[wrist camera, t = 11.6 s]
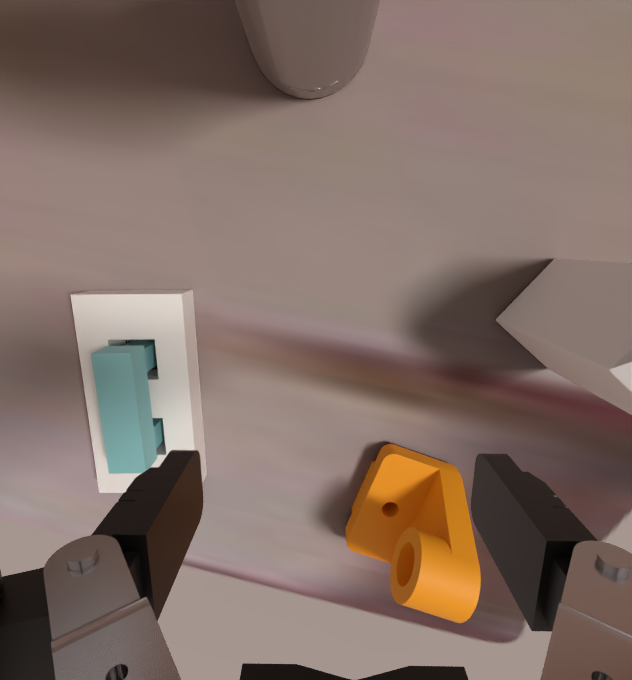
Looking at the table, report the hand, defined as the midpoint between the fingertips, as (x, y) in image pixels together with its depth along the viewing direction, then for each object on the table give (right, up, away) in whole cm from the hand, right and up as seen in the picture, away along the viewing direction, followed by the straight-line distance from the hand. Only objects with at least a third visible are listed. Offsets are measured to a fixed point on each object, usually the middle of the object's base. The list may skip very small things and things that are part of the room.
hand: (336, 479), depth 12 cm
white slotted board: (-16, 0, +26) cm, 31 cm away
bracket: (+7, -11, +29) cm, 32 cm away
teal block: (-16, 0, +26) cm, 31 cm away
